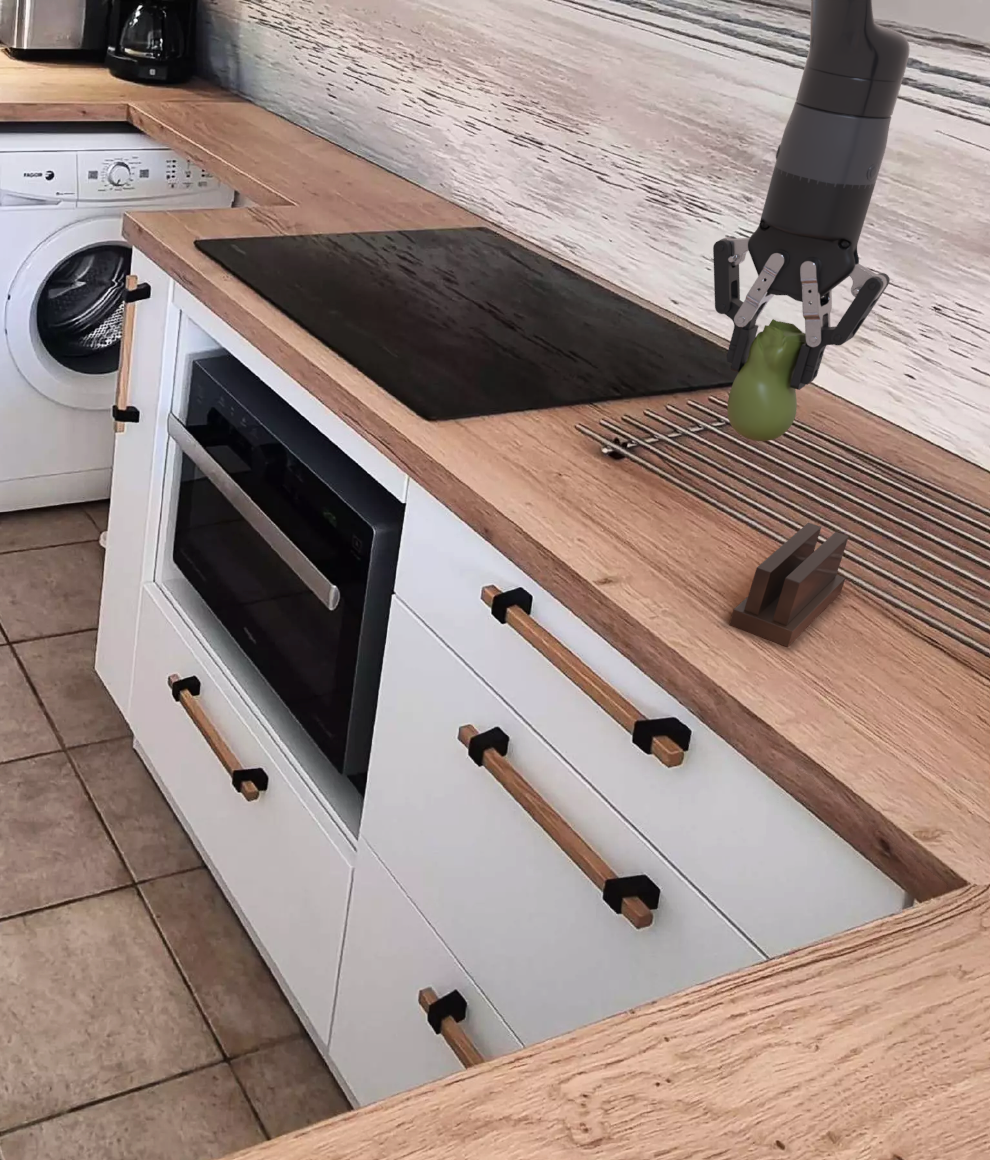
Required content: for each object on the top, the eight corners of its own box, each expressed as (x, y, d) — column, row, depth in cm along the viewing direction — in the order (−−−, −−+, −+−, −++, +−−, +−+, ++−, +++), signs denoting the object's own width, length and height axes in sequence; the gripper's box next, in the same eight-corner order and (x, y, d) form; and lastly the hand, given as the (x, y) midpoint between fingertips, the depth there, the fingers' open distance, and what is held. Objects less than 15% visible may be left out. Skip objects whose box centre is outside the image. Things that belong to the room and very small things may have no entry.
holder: (840, 592, 134) (859, 536, 132) (787, 647, 124) (806, 588, 121) (785, 572, 137) (802, 517, 134) (728, 624, 126) (746, 566, 124)
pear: (748, 422, 131) (779, 310, 126) (800, 444, 127) (834, 330, 122) (707, 432, 128) (737, 317, 123) (759, 454, 124) (792, 337, 119)
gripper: (934, 183, 116) (868, 393, 124) (753, 145, 124) (702, 345, 131) (907, 195, 111) (839, 414, 119) (719, 154, 118) (668, 363, 126)
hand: (767, 377), depth 125 cm, fingers closed on pear, 4 cm apart
